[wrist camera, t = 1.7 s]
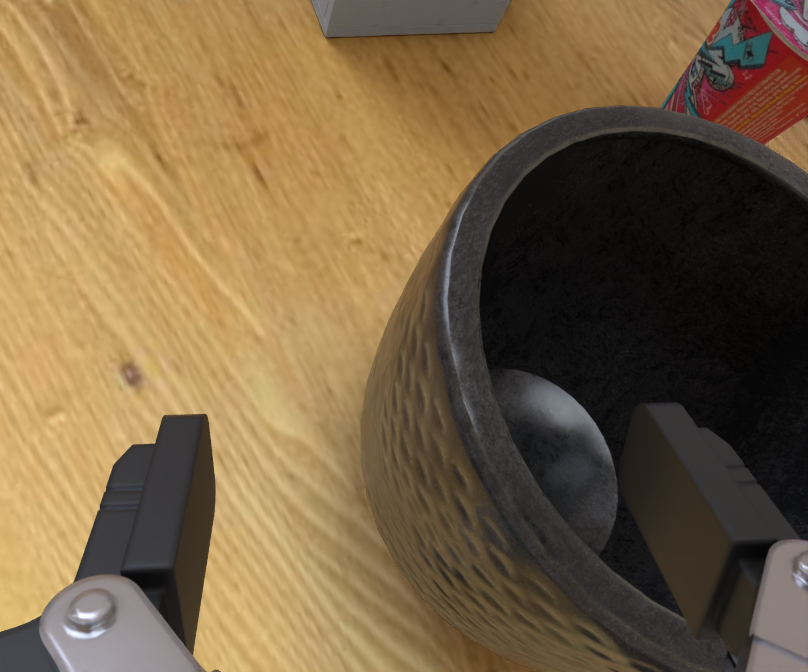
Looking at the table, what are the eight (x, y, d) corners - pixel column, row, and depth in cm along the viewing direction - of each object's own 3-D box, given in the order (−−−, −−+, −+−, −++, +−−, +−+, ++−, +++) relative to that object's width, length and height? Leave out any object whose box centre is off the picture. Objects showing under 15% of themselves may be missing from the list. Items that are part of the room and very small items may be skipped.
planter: (456, 791, 28) (751, 893, 15) (236, 411, 32) (305, 202, 18) (723, 550, 36) (1077, 468, 22) (523, 267, 40) (725, 45, 26)
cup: (698, 100, 50) (842, -52, 40) (753, 206, 47) (923, 73, 37) (585, 104, 47) (711, -62, 36) (637, 219, 44) (789, 75, 33)
